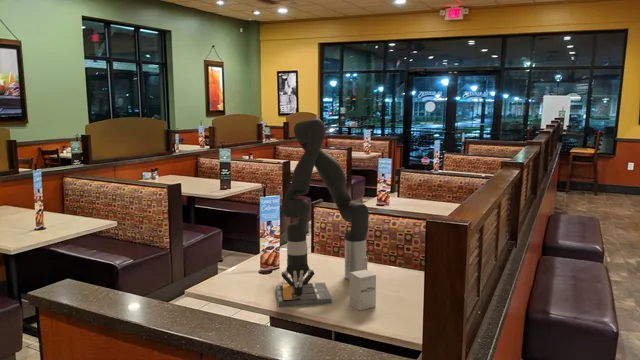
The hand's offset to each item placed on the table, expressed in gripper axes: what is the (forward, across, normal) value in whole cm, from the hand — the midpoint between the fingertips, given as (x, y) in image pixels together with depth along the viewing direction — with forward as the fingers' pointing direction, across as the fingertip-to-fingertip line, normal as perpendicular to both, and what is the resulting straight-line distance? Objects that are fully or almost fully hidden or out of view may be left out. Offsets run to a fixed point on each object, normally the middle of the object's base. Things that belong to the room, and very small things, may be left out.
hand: (298, 295), depth 184 cm
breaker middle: (+1, +3, -6) cm, 7 cm away
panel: (+3, -2, -6) cm, 7 cm away
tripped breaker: (0, +4, 0) cm, 4 cm away
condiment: (+3, -1, -27) cm, 27 cm away
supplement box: (+4, -23, +6) cm, 24 cm away
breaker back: (+1, +3, -12) cm, 13 cm away
